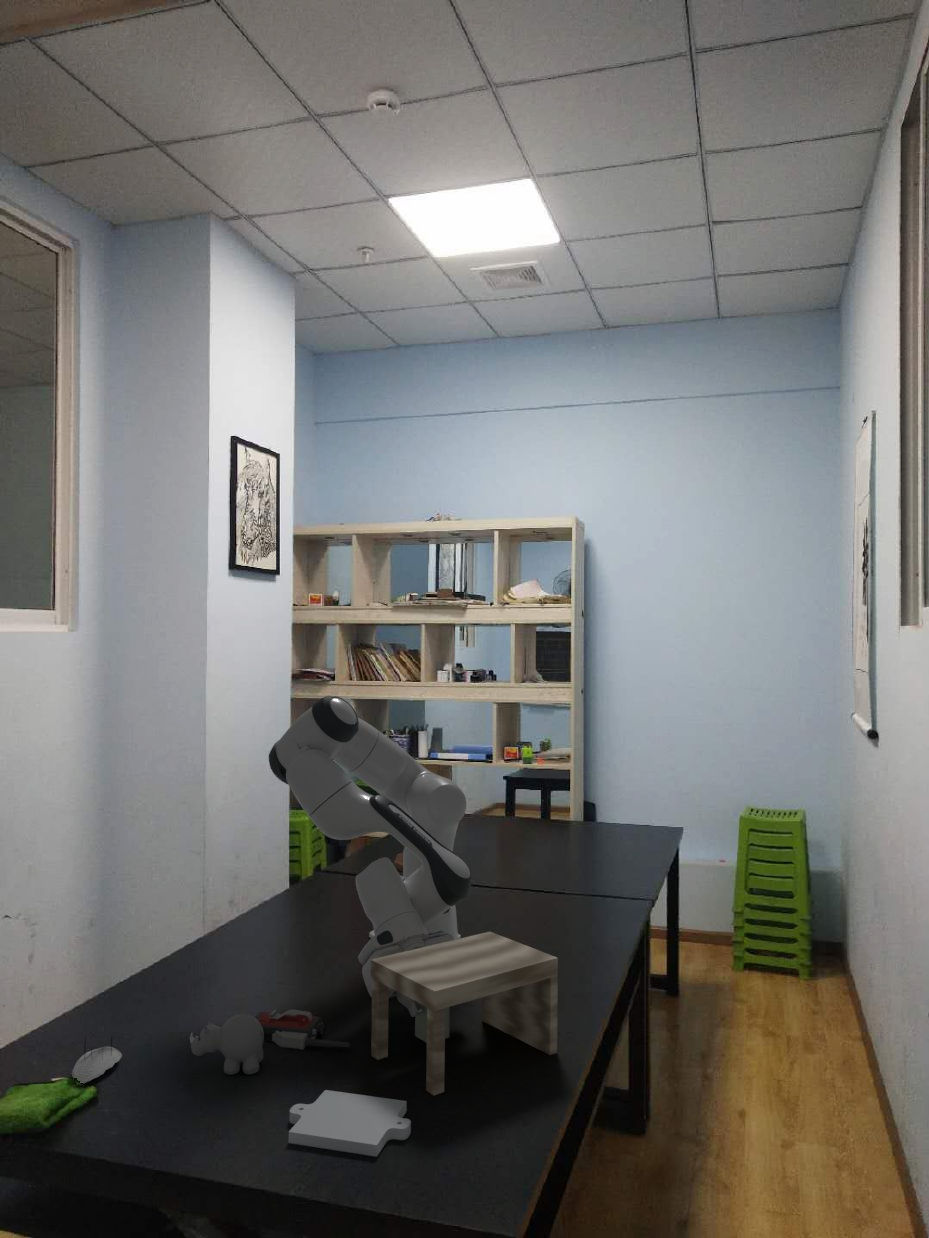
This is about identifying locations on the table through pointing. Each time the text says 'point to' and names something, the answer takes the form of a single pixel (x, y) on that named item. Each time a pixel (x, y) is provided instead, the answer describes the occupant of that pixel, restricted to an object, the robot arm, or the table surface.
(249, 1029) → the chubby cartoon animal
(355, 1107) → the mounting plate
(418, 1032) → the sage wooden block
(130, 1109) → the table surface
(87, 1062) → the pincushion
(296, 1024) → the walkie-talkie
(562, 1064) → the table surface
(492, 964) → the wood grain stool
